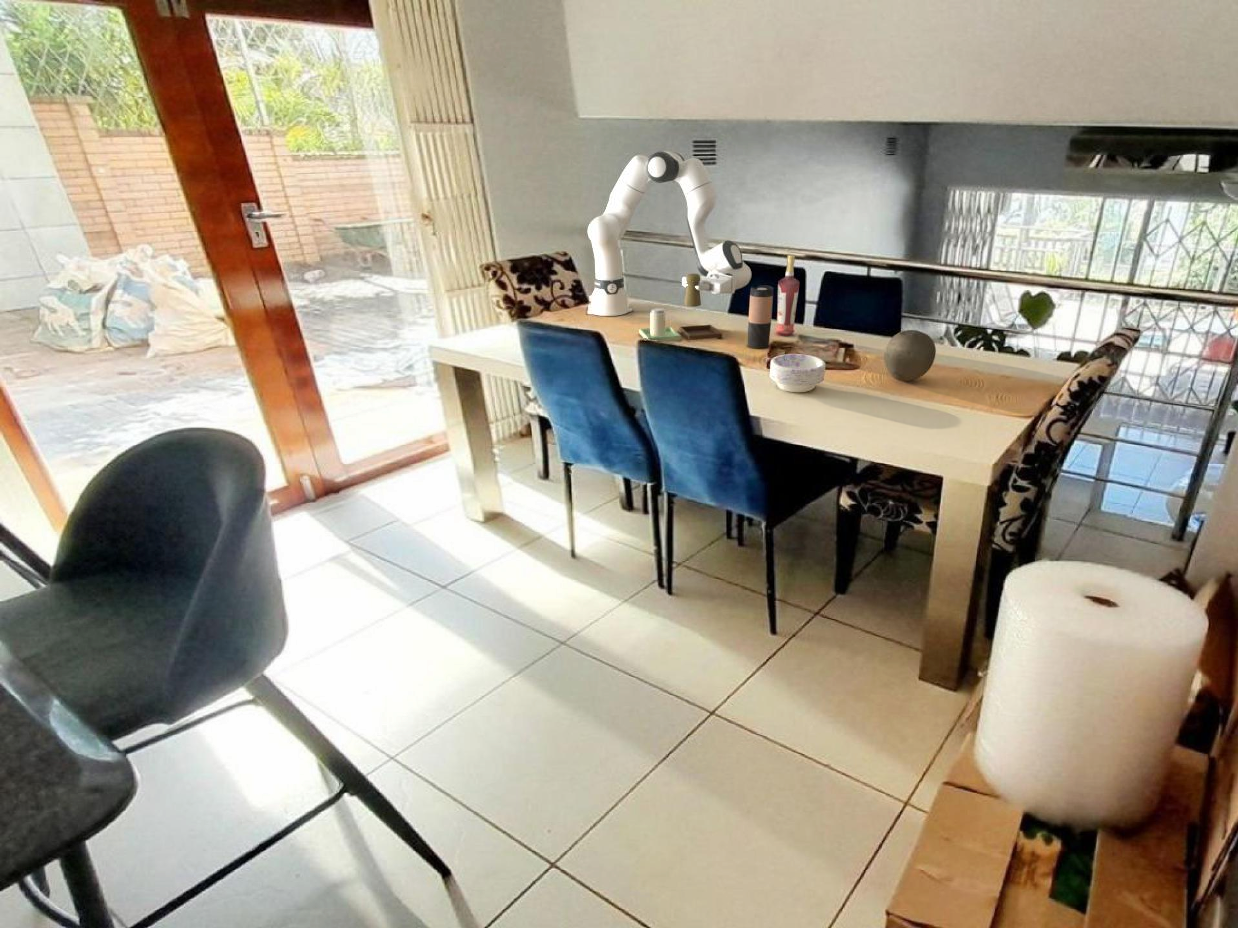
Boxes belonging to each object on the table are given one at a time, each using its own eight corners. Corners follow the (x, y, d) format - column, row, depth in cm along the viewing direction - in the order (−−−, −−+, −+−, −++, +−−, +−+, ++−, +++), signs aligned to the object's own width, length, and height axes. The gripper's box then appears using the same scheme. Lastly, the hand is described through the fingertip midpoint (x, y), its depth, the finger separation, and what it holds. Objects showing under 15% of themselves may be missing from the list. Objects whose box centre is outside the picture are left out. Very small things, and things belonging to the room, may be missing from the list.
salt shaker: (648, 335, 256) (648, 308, 252) (663, 334, 257) (663, 307, 253) (652, 339, 252) (652, 311, 247) (667, 338, 252) (667, 310, 248)
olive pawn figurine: (681, 304, 257) (681, 273, 253) (695, 302, 260) (696, 271, 255) (689, 307, 252) (690, 276, 248) (704, 305, 255) (704, 274, 250)
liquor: (796, 336, 253) (804, 256, 241) (776, 337, 253) (782, 257, 241) (792, 331, 260) (799, 253, 248) (772, 332, 260) (778, 254, 248)
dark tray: (679, 332, 262) (679, 326, 261) (710, 329, 264) (710, 324, 263) (689, 341, 250) (689, 335, 250) (721, 338, 253) (722, 333, 252)
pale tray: (639, 334, 261) (639, 329, 260) (671, 332, 263) (671, 326, 262) (647, 343, 249) (647, 338, 248) (680, 341, 251) (680, 335, 250)
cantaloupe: (872, 375, 212) (878, 326, 206) (917, 373, 213) (925, 324, 206) (891, 390, 199) (899, 338, 193) (940, 388, 200) (949, 336, 194)
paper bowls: (798, 400, 193) (801, 372, 190) (757, 386, 205) (759, 360, 201) (834, 388, 201) (837, 362, 198) (793, 376, 213) (795, 350, 209)
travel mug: (767, 349, 239) (772, 290, 230) (745, 348, 241) (748, 289, 232) (770, 343, 245) (775, 286, 237) (748, 342, 248) (752, 285, 239)
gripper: (697, 269, 266) (671, 274, 258) (738, 276, 252) (712, 281, 244) (696, 286, 269) (671, 291, 261) (737, 293, 255) (711, 300, 247)
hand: (691, 287), depth 253 cm, fingers closed on olive pawn figurine, 4 cm apart
